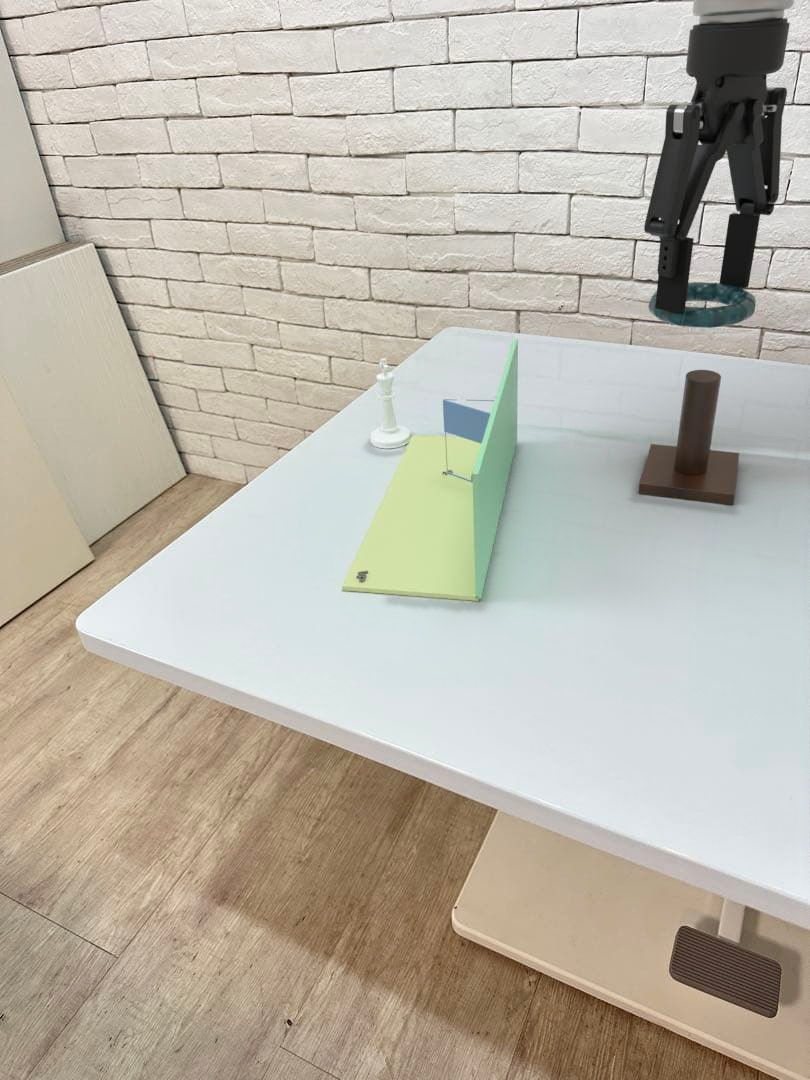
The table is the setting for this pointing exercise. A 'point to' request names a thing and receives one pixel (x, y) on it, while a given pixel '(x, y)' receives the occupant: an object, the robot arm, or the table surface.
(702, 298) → the ring
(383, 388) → the chess piece
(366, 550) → the display stand
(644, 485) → the stand
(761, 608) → the table surface
